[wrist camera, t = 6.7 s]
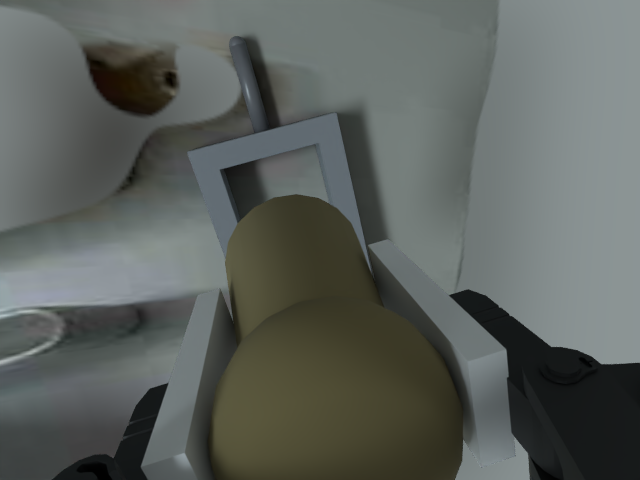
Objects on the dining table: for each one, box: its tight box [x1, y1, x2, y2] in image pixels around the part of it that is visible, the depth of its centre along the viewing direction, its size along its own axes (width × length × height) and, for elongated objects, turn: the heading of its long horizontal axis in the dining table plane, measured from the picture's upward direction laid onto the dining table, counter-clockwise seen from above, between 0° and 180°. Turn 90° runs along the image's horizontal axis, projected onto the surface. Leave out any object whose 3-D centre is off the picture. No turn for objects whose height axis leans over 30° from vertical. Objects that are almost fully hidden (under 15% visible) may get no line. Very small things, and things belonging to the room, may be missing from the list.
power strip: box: [187, 36, 372, 273], centre depth 30 cm, size 31×11×3 cm, turn 14°
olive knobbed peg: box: [208, 194, 463, 480], centre depth 11 cm, size 6×6×11 cm
